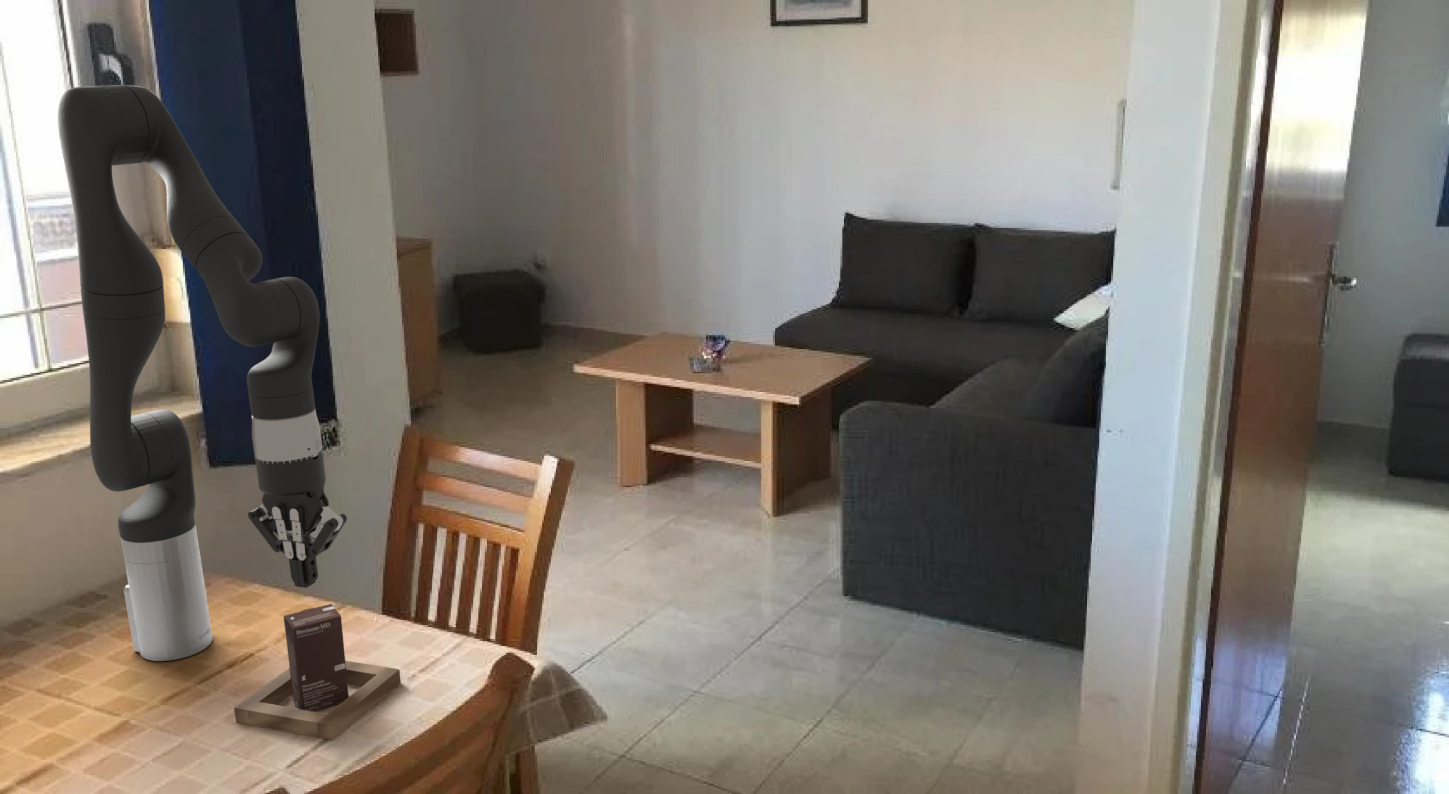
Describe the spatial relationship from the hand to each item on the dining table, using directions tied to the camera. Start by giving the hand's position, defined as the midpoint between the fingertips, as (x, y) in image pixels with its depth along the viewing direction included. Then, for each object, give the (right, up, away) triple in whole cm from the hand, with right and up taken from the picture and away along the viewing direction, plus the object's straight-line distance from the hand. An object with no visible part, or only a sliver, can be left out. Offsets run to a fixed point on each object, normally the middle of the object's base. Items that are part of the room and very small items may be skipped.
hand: (305, 584), depth 143 cm
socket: (0, -15, +4) cm, 16 cm away
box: (+1, -16, +4) cm, 16 cm away
